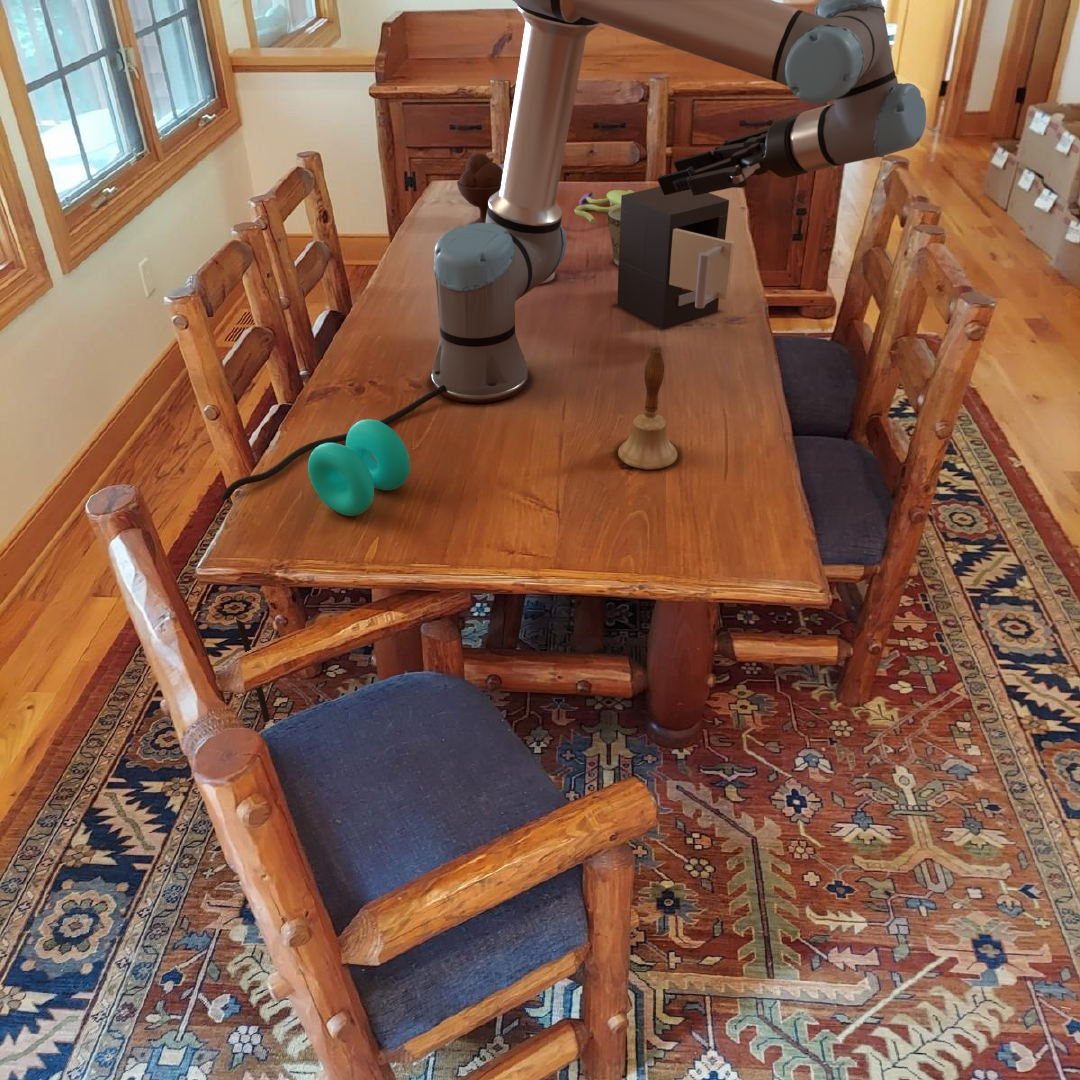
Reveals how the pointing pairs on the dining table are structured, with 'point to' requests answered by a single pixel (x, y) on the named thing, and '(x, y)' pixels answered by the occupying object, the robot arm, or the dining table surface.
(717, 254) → the chamber door
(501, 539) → the dining table surface
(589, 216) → the figurine
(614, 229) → the ceramic cup
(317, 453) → the teal yo-yo
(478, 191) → the ice cream bowl
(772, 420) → the dining table surface
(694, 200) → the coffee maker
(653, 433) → the hand bell
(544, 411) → the dining table surface
